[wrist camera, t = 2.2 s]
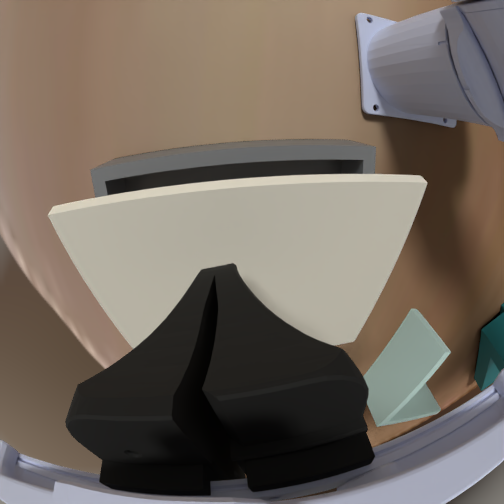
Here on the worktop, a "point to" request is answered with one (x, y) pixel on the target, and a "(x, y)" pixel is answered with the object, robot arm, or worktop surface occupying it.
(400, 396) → the l-shaped corner panel
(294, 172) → the storage box
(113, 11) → the worktop surface
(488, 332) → the teal stepped block
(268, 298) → the lid
